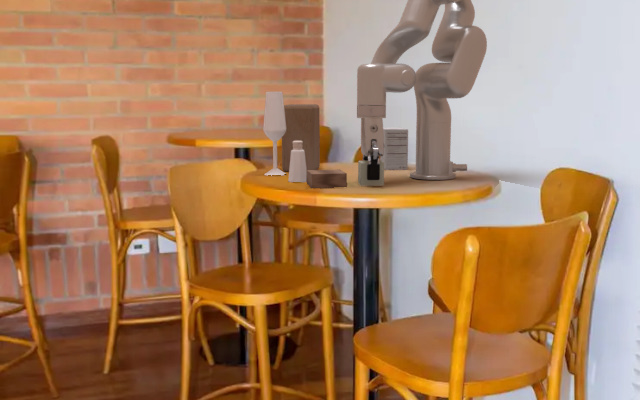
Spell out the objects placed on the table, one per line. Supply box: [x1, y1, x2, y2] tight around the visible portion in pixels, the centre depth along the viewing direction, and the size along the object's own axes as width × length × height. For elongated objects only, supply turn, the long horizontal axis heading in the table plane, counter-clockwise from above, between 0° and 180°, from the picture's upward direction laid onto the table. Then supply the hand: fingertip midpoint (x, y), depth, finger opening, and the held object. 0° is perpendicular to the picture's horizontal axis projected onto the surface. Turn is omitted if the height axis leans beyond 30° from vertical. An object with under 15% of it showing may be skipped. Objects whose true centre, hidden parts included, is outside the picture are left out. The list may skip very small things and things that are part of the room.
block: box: [281, 103, 321, 172], centre depth 218 cm, size 10×10×20 cm
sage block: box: [357, 160, 385, 187], centre depth 188 cm, size 6×6×6 cm
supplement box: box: [379, 126, 409, 171], centre depth 221 cm, size 7×7×13 cm
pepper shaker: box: [288, 141, 306, 183], centre depth 193 cm, size 5×5×11 cm
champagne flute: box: [262, 91, 287, 177], centre depth 207 cm, size 7×7×24 cm
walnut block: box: [305, 168, 348, 189], centre depth 185 cm, size 9×9×4 cm
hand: (370, 177), depth 188 cm, fingers open, 9 cm apart
